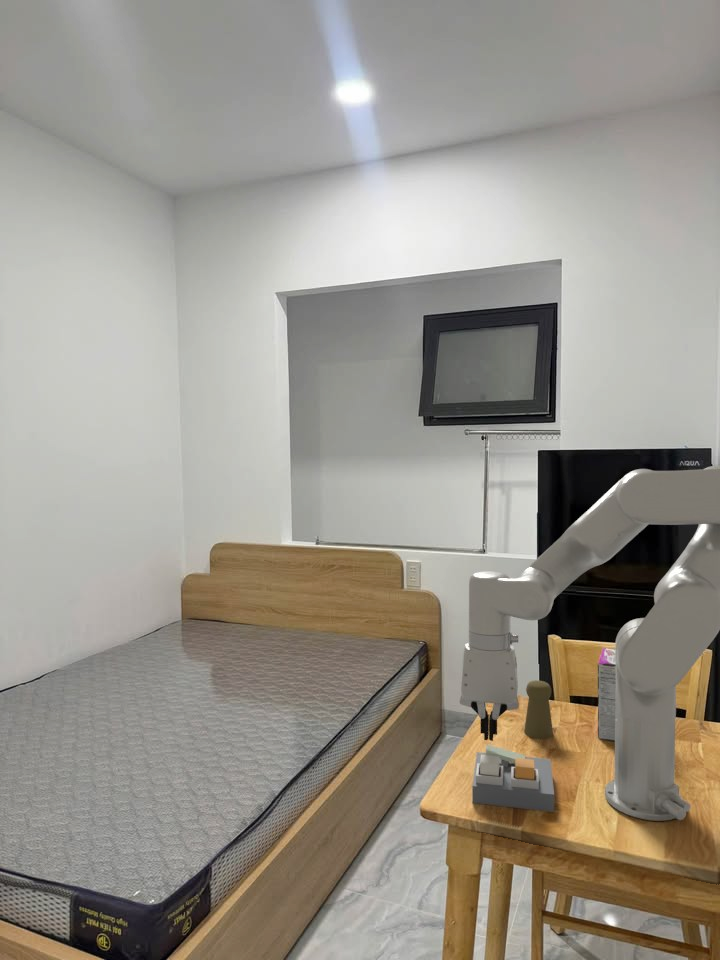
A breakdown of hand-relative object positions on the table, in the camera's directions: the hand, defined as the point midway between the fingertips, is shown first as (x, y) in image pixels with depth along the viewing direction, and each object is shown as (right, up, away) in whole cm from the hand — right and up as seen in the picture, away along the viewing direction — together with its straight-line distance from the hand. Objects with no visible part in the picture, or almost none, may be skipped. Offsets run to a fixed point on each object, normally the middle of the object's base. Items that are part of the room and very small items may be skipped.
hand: (488, 737), depth 124 cm
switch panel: (+4, -8, -4) cm, 9 cm away
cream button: (-1, -4, -6) cm, 7 cm away
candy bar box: (+30, -7, +20) cm, 37 cm away
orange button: (+5, -4, -7) cm, 9 cm away
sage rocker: (+3, -4, 0) cm, 4 cm away
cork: (+14, -7, +19) cm, 25 cm away
